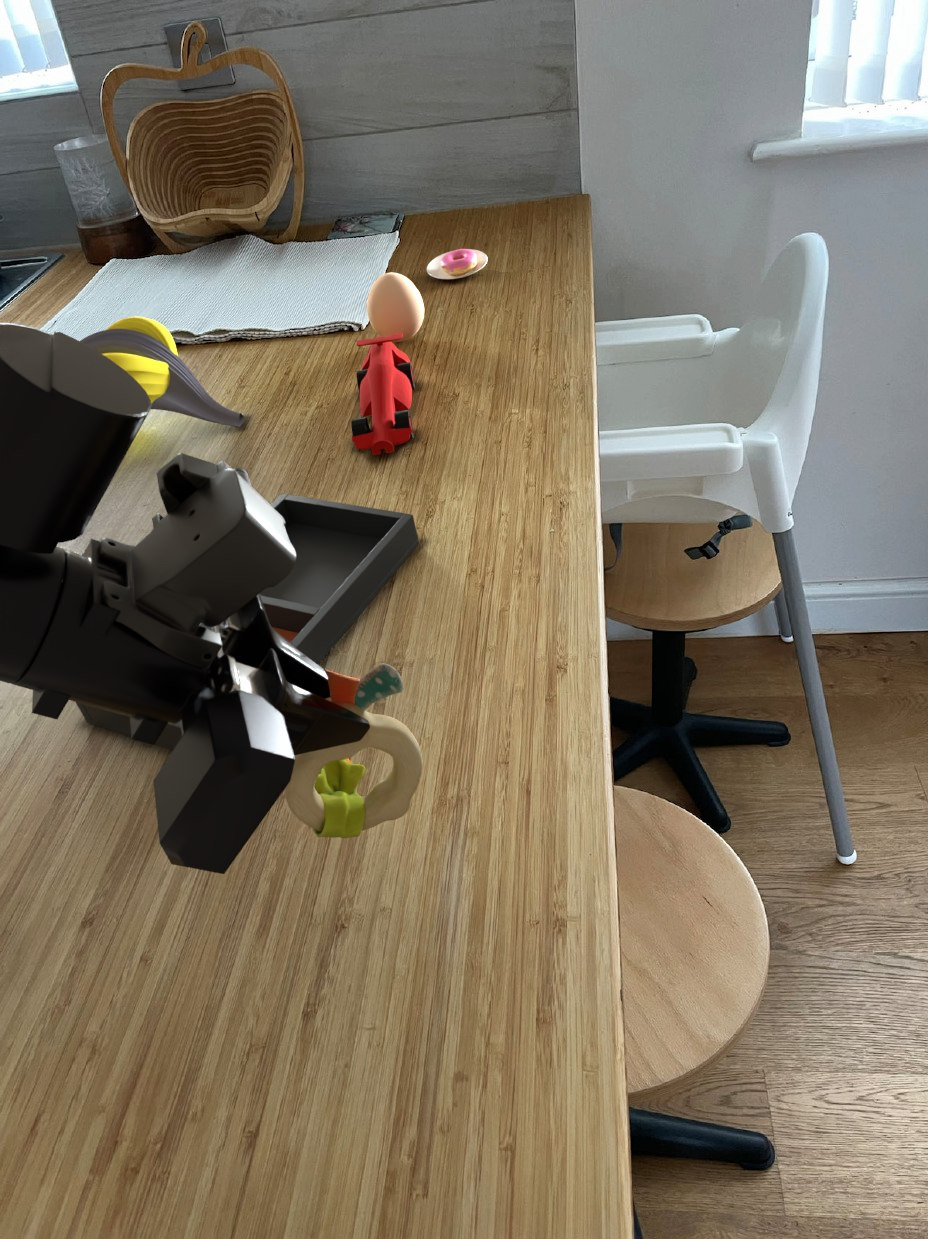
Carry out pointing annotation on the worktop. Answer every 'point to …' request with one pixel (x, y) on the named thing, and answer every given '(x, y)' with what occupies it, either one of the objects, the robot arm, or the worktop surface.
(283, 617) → the tray
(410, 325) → the egg
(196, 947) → the worktop surface
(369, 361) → the toy car
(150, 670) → the robot arm
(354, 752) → the rattle
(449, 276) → the donut
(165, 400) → the yellow grey curved horn
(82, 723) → the worktop surface
